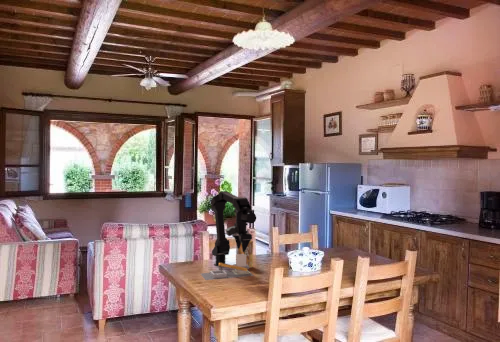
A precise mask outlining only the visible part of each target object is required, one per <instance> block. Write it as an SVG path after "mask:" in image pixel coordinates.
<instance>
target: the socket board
mask: <svg viewBox="0 0 500 342" xmlns="http://www.w3.org/2000/svg"><path fill="white" fill-rule="evenodd" d="M199 274H200V275H201V277H202V278H203V279H204V280H205V281H211V280H220V279H230V278H231V279H234V278H244V277H253V276H255V275H254V274H253V273H252V272H250V271H249V270H248V269H247V271H246V272H244V273H238V272H237V271H236V269H232V270H224V269H223V266H218V269H216V270H210V271H209V272H202V273H199Z"/></svg>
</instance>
